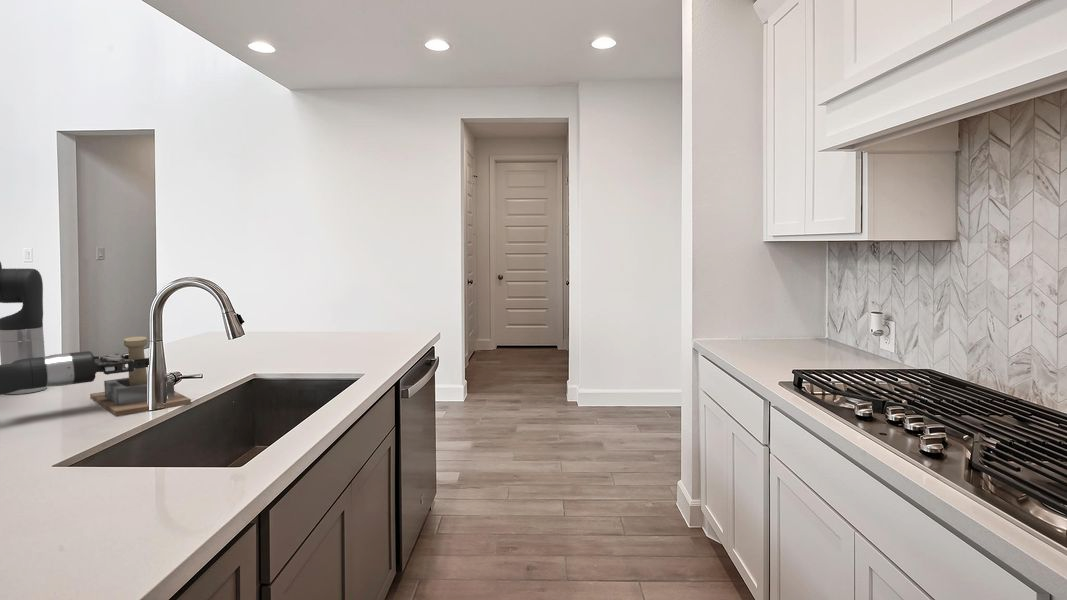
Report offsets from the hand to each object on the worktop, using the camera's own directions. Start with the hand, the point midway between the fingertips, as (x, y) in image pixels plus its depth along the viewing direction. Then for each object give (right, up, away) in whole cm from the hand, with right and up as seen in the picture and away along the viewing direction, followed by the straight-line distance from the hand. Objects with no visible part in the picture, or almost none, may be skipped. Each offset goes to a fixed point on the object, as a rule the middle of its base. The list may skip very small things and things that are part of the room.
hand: (146, 359), depth 156 cm
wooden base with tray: (-1, -11, 0) cm, 11 cm away
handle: (-1, -10, -1) cm, 10 cm away
